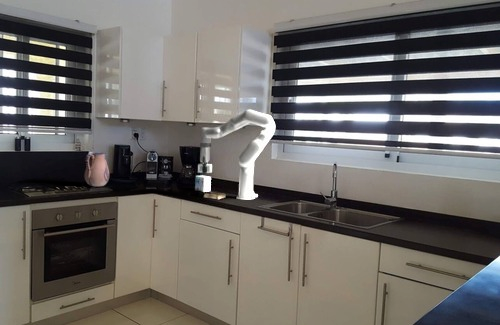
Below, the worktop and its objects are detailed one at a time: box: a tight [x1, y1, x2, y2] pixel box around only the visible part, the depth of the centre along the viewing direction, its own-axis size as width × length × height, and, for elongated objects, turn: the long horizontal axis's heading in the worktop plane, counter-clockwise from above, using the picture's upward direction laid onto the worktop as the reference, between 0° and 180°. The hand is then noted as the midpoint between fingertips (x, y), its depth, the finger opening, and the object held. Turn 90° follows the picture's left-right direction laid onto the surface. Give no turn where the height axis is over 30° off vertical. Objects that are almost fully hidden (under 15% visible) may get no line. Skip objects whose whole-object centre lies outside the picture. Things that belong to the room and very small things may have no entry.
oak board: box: [203, 191, 227, 200], centre depth 282 cm, size 11×10×2 cm
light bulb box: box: [194, 174, 212, 193], centre depth 307 cm, size 11×7×11 cm, turn 45°
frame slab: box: [197, 163, 213, 174], centre depth 284 cm, size 9×4×6 cm, turn 84°
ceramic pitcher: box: [84, 151, 110, 188], centre depth 307 cm, size 18×21×25 cm
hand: (205, 171), depth 284 cm, fingers closed on frame slab, 3 cm apart
